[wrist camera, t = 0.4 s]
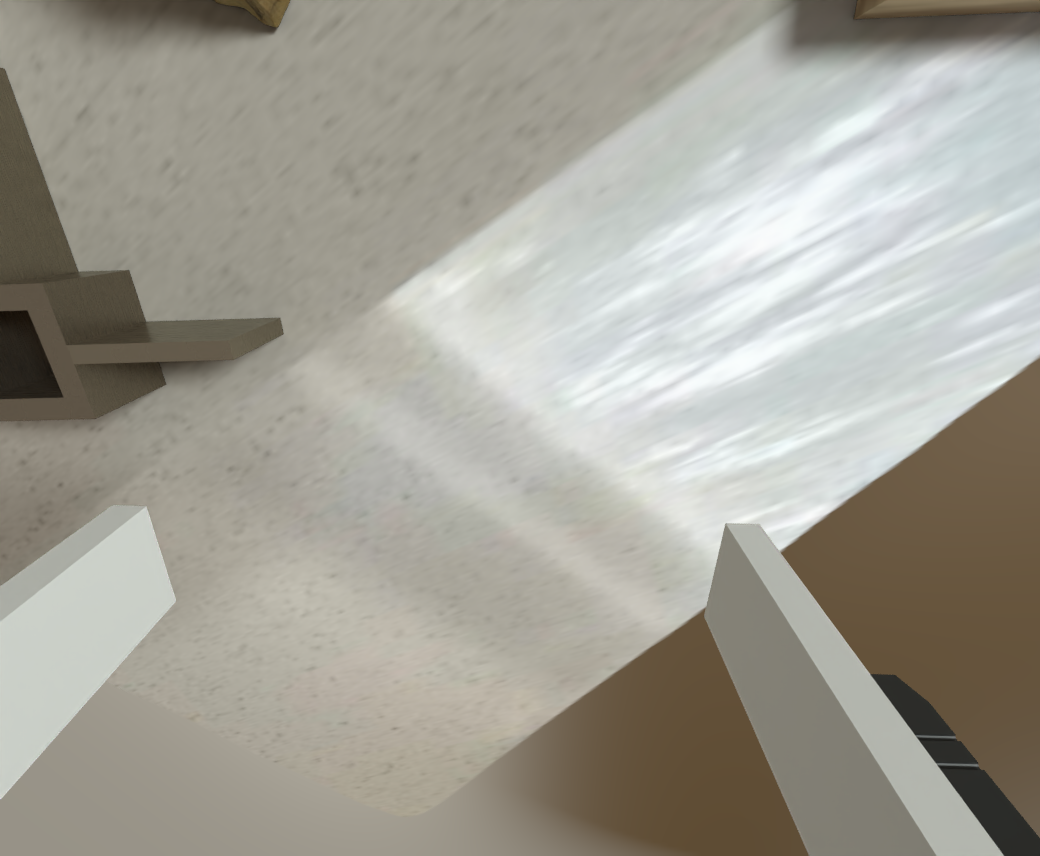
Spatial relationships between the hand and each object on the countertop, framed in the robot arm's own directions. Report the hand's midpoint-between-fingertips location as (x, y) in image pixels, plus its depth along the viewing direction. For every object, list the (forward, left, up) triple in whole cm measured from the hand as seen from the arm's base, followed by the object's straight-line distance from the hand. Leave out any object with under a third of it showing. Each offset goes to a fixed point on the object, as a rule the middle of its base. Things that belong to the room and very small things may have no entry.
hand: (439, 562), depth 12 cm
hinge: (-6, -25, -27) cm, 38 cm away
